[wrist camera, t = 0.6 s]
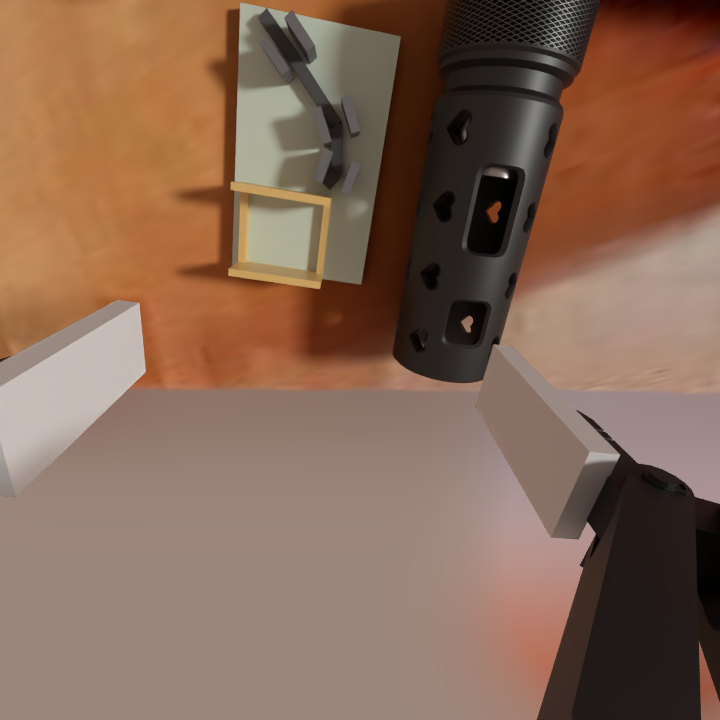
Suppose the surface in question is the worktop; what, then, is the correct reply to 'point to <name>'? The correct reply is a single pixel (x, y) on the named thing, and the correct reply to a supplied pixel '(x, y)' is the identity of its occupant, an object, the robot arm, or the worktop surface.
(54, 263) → the worktop surface
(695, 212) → the worktop surface
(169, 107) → the worktop surface
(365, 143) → the board
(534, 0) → the muzzle brake
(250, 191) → the end holder
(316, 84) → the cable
